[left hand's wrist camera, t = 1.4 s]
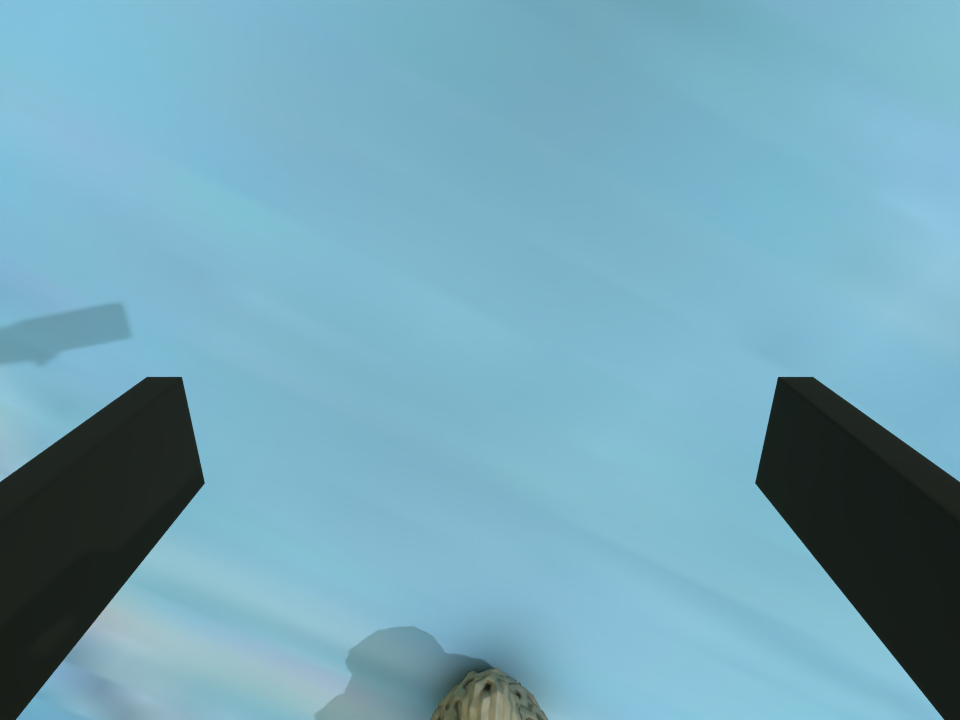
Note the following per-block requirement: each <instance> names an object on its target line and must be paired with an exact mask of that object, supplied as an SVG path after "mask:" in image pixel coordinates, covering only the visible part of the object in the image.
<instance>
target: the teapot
mask: <svg viewBox="0 0 960 720" xmlns="http://www.w3.org/2000/svg"><path fill="white" fill-rule="evenodd" d="M430 720H548V719H547V717H546V715H545V714H544V712H543V711H542V710H540V707H539V705H538V703H537V702H536V700H535V698H534V696H533V695H532V694H531V693H530V692H529V691H528V690H526V689H525V688H524V687H523V686H521V684H520V683H519V682H517V681H516V680H514V679H512V678H510V677H509V676H507V675H506V674H504V673H503V672H502V671H501V670H499V669H498V668H491V669H488V670H485V671H483V672H480V673H477V672H475V671H470V672H468V674H467V675H466V677H465V678H464V679H463V680H462V682H461V683H459V684H457V685H456V686H455V687H454V688H453V689H452V690H451V691H450V692H449V693H448V694H447V695H446V696H445V698H444V699H443V700H442V701H441V702H440V704H439V705H438V709H437V710H435V712H434V714H433V715H432V717H431V719H430Z"/></svg>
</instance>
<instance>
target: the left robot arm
mask: <svg viewBox="0 0 960 720" xmlns="http://www.w3.org/2000/svg"><path fill="white" fill-rule="evenodd" d="M204 484H205V482H204V478H203V473H202V468H201V464H200V459H199V454H198V450H197V445H196V440H195V436H194V431H193V427H192V422H191V417H190V413H189V408H188V403H187V399H186V394H185V389H184V385H183V380H182V377H146V378H145V379H144V380H142V381H141V382H139V383H138V384H137V385H135V386H134V387H132V388H131V389H130V390H128V391H127V392H125V393H124V394H123V395H121V396H120V397H118V398H117V399H116V400H114V401H113V402H111V403H110V404H109V405H107V406H106V407H104V408H103V409H102V410H100V411H99V412H97V413H96V414H95V415H93V416H92V417H91V418H89V419H88V420H86V421H85V422H84V423H82V424H81V425H79V426H78V427H77V428H75V429H74V430H72V431H71V432H70V433H68V434H67V435H65V436H64V437H63V438H61V439H60V440H58V441H57V442H56V443H54V444H53V445H51V446H50V447H49V448H47V449H46V450H44V451H43V452H42V453H40V454H39V455H37V456H36V457H35V458H33V459H32V460H30V461H29V462H28V463H26V464H25V465H23V466H22V467H21V468H19V469H18V470H16V471H15V472H14V473H12V474H11V475H9V476H8V477H7V478H5V479H4V480H2V481H1V482H0V720H16V719H17V717H18V716H19V715H20V714H21V712H22V711H23V710H24V709H25V707H26V706H27V705H28V704H29V702H30V701H31V700H32V699H33V697H34V696H35V695H36V694H37V692H38V691H39V690H40V689H41V687H42V686H43V685H44V684H45V682H46V681H47V680H48V679H49V677H50V676H51V675H52V674H53V672H54V671H55V670H56V669H57V667H58V666H59V665H60V664H61V662H62V661H63V660H64V659H65V657H66V656H67V655H68V654H69V652H70V651H71V650H72V649H73V647H74V646H75V645H76V644H77V642H78V641H79V640H80V639H81V637H82V636H83V635H84V634H85V632H86V631H87V630H88V629H89V627H90V626H91V625H92V624H93V622H94V621H95V620H96V619H97V617H98V616H99V615H100V614H101V612H102V611H103V610H104V609H105V607H106V606H107V605H108V604H109V602H110V601H111V600H112V599H113V597H114V596H115V595H116V594H117V592H118V591H119V590H120V589H121V587H122V586H123V585H124V584H125V582H126V581H127V580H128V579H129V577H130V576H131V575H132V574H133V572H134V571H135V570H136V569H137V567H138V566H139V565H140V564H141V562H142V561H143V560H144V559H145V557H146V556H147V555H148V554H149V552H150V551H151V550H152V549H153V547H154V546H155V545H156V544H157V542H158V541H159V540H160V539H161V537H162V536H163V535H164V534H165V532H166V531H167V530H168V529H169V527H170V526H171V525H172V524H173V522H174V521H175V520H176V519H177V517H178V516H179V515H180V514H181V512H182V511H183V510H184V509H185V507H186V506H187V505H188V504H189V502H190V501H191V500H192V499H193V497H194V496H195V495H196V494H197V492H198V491H199V490H200V489H201V487H202V486H203V485H204ZM755 484H756V485H757V486H758V487H759V489H760V490H761V491H762V492H763V494H764V495H765V496H766V497H767V499H768V500H769V501H770V502H771V504H772V505H773V506H774V507H775V509H776V510H777V511H778V512H779V514H780V515H781V516H782V517H783V519H784V520H785V521H786V522H787V524H788V525H789V526H790V527H791V529H792V530H793V531H794V532H795V534H796V535H797V536H798V537H799V539H800V540H801V541H802V542H803V544H804V545H805V546H806V547H807V549H808V550H809V551H810V552H811V554H812V555H813V556H814V557H815V559H816V560H817V561H818V562H819V564H820V565H821V566H822V567H823V569H824V570H825V571H826V572H827V574H828V575H829V576H830V577H831V579H832V580H833V581H834V582H835V584H836V585H837V586H838V587H839V589H840V590H841V591H842V592H843V594H844V595H845V596H846V597H847V599H848V600H849V601H850V602H851V604H852V605H853V606H854V607H855V609H856V610H857V611H858V612H859V614H860V615H861V616H862V617H863V619H864V620H865V621H866V622H867V624H868V625H869V626H870V627H871V629H872V630H873V631H874V632H875V634H876V635H877V636H878V637H879V639H880V640H881V641H882V642H883V644H884V645H885V646H886V647H887V649H888V650H889V651H890V652H891V654H892V655H893V656H894V657H895V659H896V660H897V661H898V662H899V664H900V665H901V666H902V667H903V669H904V670H905V671H906V672H907V674H908V675H909V676H910V677H911V679H912V680H913V681H914V682H915V684H916V685H917V686H918V687H919V689H920V690H921V691H922V692H923V694H924V695H925V696H926V697H927V699H928V700H929V701H930V702H931V704H932V705H933V706H934V707H935V709H936V710H937V711H938V712H939V714H940V715H941V716H942V717H943V719H944V720H960V482H959V481H958V480H956V479H955V478H953V477H952V476H951V475H949V474H948V473H946V472H945V471H944V470H942V469H941V468H939V467H938V466H937V465H935V464H934V463H932V462H931V461H930V460H928V459H927V458H925V457H924V456H923V455H921V454H920V453H918V452H917V451H916V450H914V449H913V448H911V447H910V446H909V445H907V444H906V443H904V442H903V441H902V440H900V439H899V438H897V437H896V436H895V435H893V434H892V433H890V432H889V431H888V430H886V429H885V428H883V427H882V426H881V425H879V424H878V423H876V422H875V421H874V420H872V419H871V418H869V417H868V416H867V415H865V414H864V413H862V412H861V411H860V410H858V409H857V408H856V407H854V406H853V405H851V404H850V403H849V402H847V401H846V400H844V399H843V398H842V397H840V396H839V395H837V394H836V393H835V392H833V391H832V390H830V389H829V388H828V387H826V386H825V385H823V384H822V383H821V382H819V381H818V380H816V379H815V378H814V377H778V380H777V385H776V389H775V394H774V399H773V403H772V408H771V413H770V417H769V422H768V427H767V431H766V436H765V440H764V445H763V450H762V454H761V459H760V464H759V468H758V473H757V478H756V482H755Z"/></svg>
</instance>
